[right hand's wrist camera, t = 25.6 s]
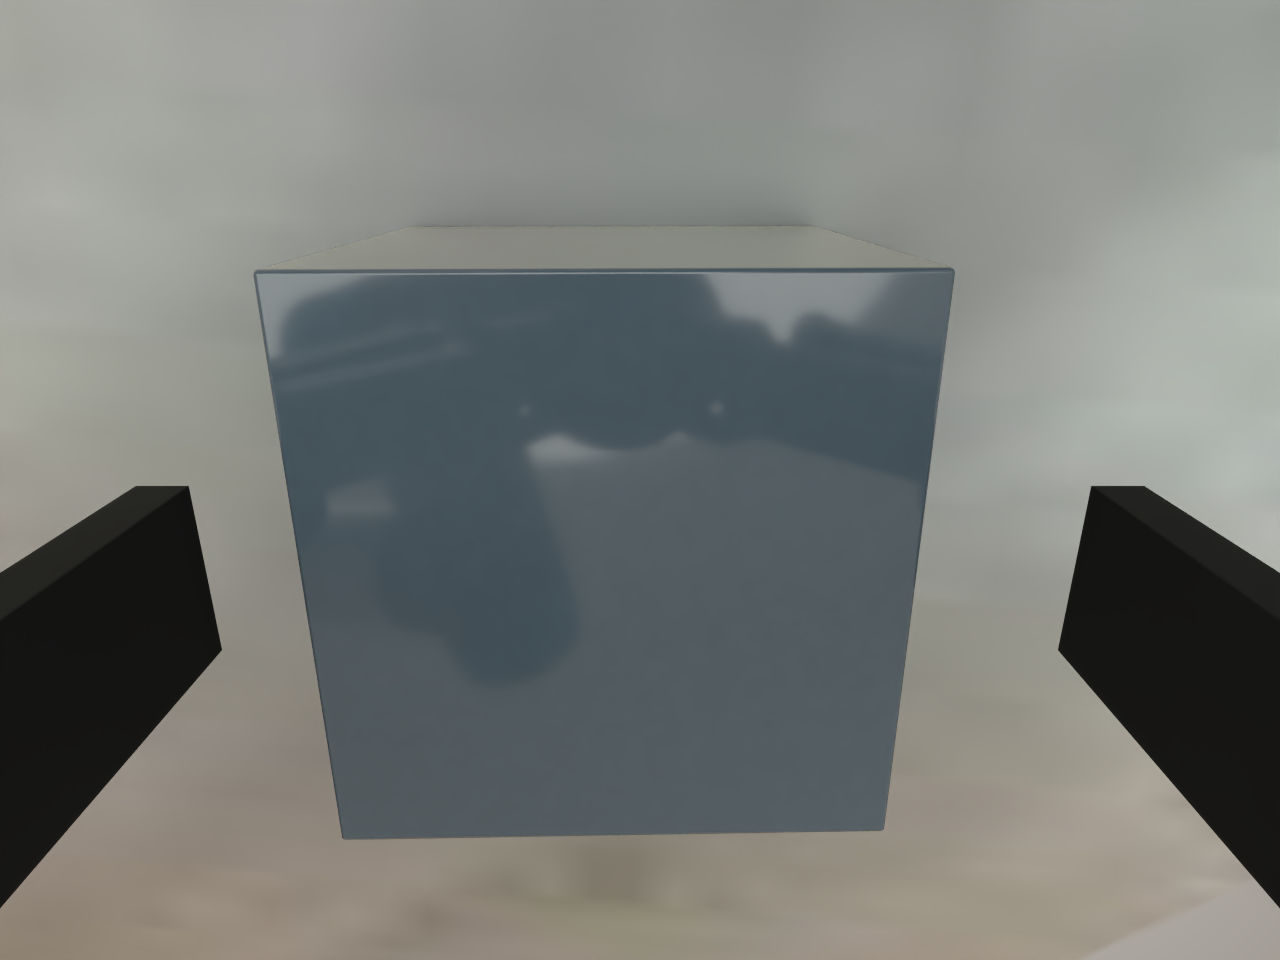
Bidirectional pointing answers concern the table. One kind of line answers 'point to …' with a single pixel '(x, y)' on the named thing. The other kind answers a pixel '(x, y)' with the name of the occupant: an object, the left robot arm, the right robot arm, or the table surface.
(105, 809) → the table surface
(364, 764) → the block
